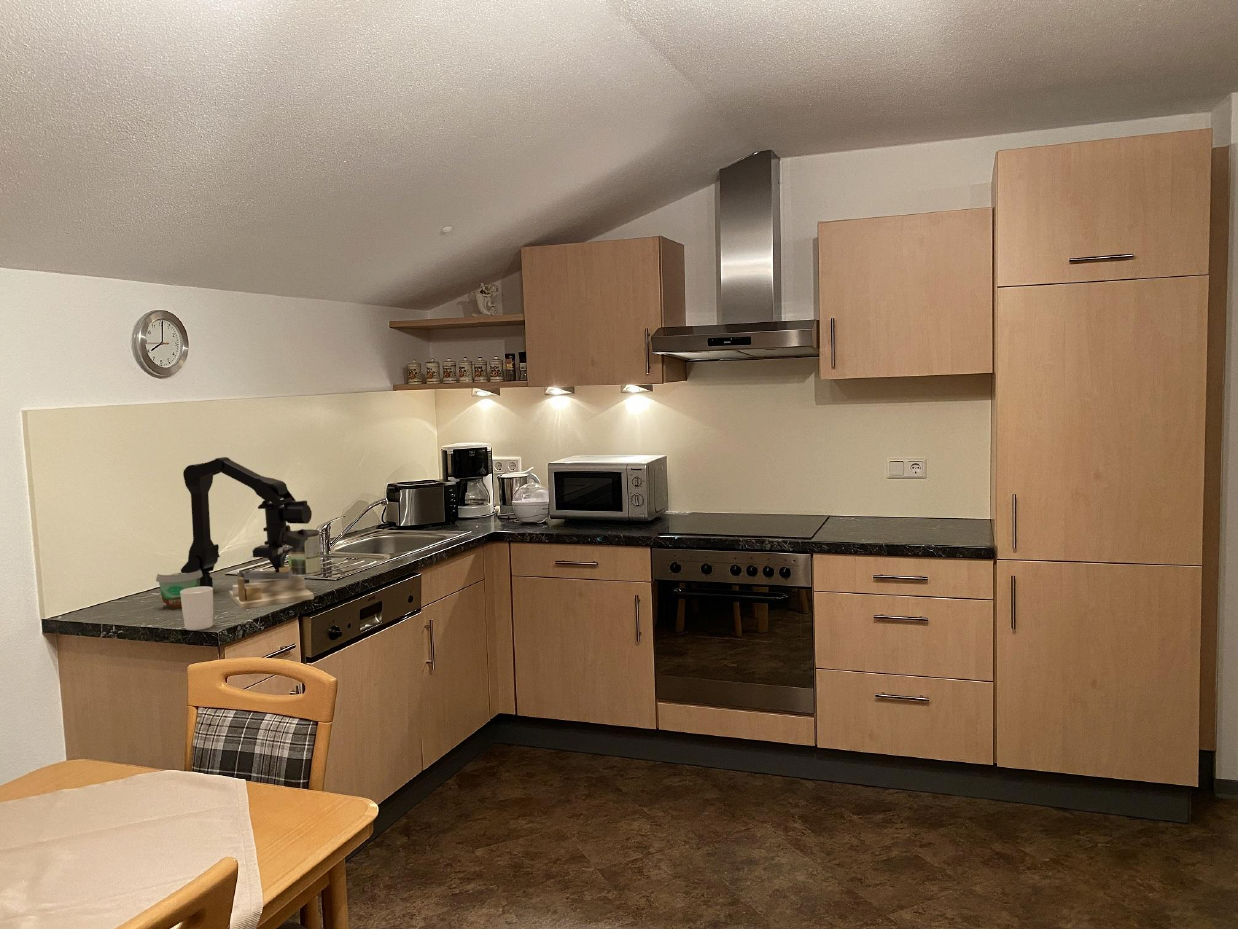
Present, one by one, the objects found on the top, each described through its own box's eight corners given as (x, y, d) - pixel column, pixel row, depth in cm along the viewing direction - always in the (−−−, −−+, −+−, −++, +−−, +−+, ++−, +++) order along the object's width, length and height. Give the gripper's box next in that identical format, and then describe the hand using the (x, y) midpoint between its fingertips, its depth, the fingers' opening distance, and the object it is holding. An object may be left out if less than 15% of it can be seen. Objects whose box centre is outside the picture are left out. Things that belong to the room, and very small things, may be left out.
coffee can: (289, 578, 310) (287, 535, 309) (288, 572, 320) (286, 530, 319) (322, 575, 314) (320, 532, 313) (320, 569, 324) (318, 528, 322)
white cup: (197, 622, 255) (194, 586, 254) (222, 624, 253) (219, 587, 252) (175, 630, 248) (173, 592, 247) (201, 631, 245) (198, 593, 244)
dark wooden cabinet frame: (237, 580, 283) (236, 568, 282) (242, 578, 286) (241, 566, 285) (288, 579, 282) (287, 567, 281) (292, 577, 285) (292, 565, 285)
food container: (157, 612, 268) (154, 577, 267) (158, 607, 274) (155, 573, 273) (204, 606, 273) (202, 572, 272) (204, 602, 279) (202, 568, 278)
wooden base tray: (241, 609, 269) (239, 581, 268) (229, 596, 286) (227, 570, 285) (313, 599, 279) (312, 572, 278) (297, 587, 296) (296, 561, 295)
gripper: (285, 529, 273) (289, 582, 275) (316, 517, 292) (319, 567, 294) (249, 529, 275) (253, 582, 277) (282, 517, 293) (285, 567, 295)
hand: (279, 574), depth 286 cm, fingers closed
